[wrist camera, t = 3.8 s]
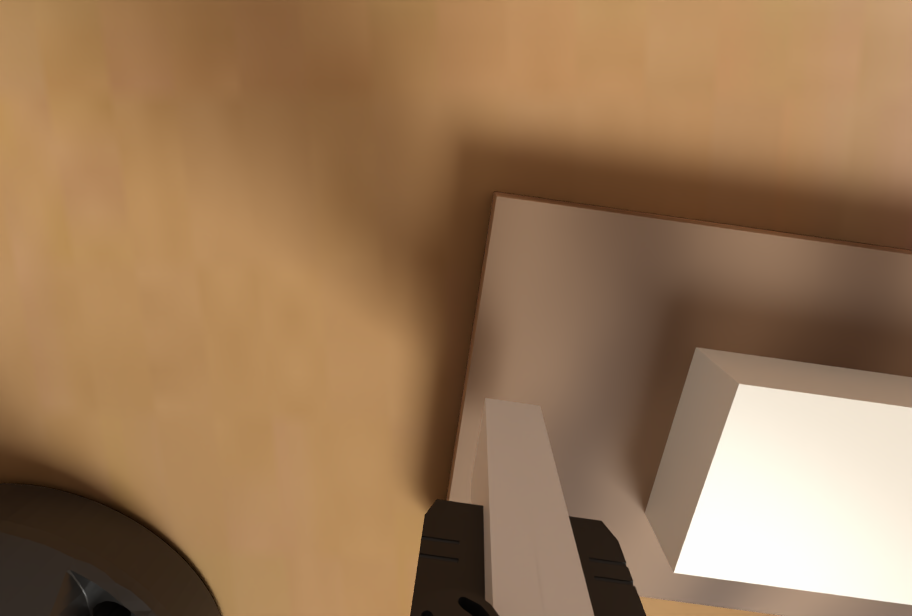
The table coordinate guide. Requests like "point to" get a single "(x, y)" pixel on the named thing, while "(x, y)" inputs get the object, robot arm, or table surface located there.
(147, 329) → the table surface
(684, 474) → the tile
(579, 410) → the brown wooden board
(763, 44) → the table surface
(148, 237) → the table surface
